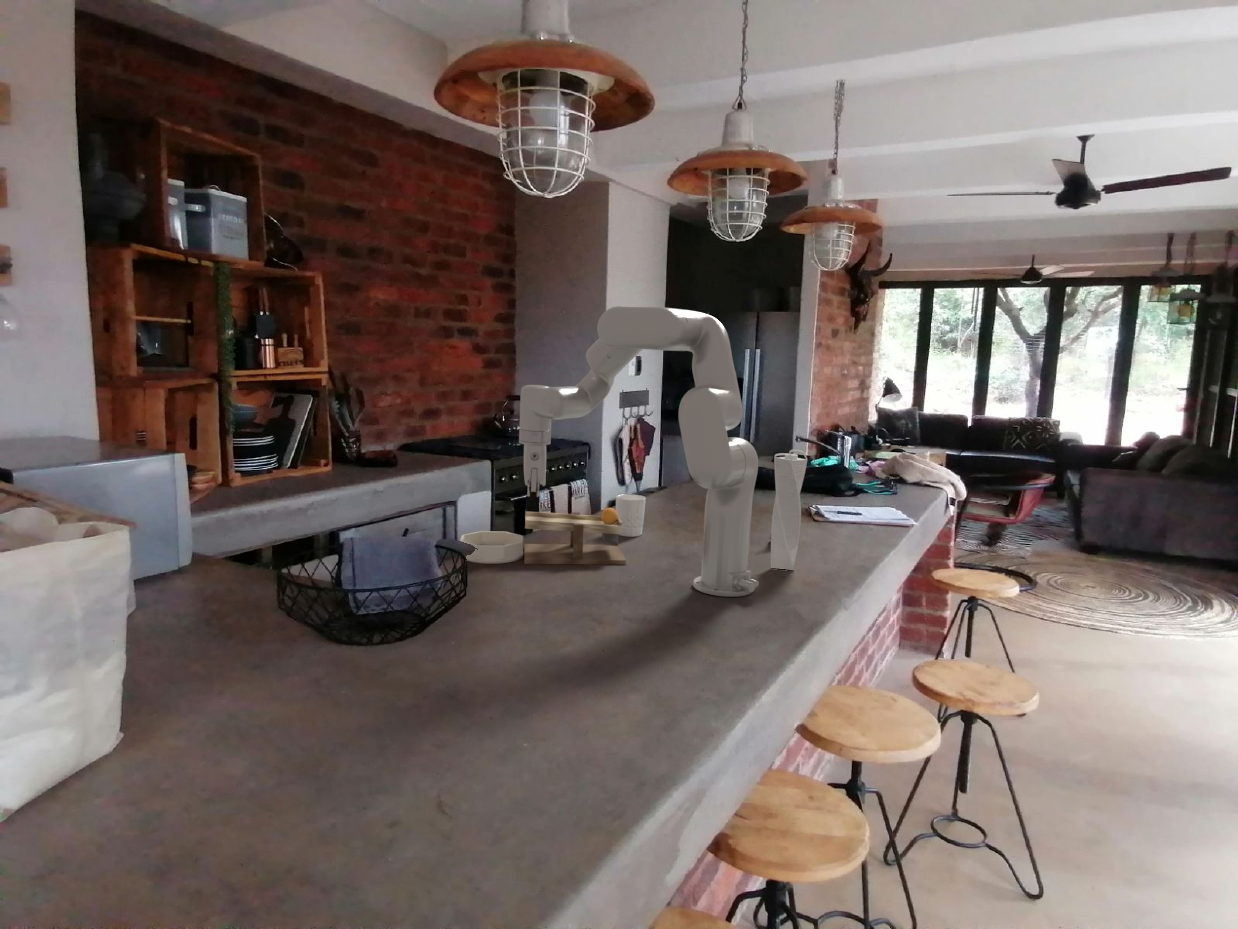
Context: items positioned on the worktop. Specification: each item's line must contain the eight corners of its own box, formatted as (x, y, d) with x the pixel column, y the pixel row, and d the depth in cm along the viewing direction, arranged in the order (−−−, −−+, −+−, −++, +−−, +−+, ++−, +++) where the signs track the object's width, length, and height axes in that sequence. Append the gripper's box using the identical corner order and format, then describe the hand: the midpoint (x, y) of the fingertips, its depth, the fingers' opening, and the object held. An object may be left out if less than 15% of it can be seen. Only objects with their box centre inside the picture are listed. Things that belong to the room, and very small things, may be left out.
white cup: (641, 538, 206) (642, 500, 204) (611, 536, 207) (613, 498, 206) (646, 532, 214) (648, 495, 212) (617, 529, 215) (619, 493, 214)
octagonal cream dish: (523, 547, 192) (523, 531, 191) (523, 563, 178) (523, 546, 177) (462, 547, 190) (462, 530, 189) (457, 563, 176) (457, 545, 175)
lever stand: (618, 548, 194) (620, 512, 193) (625, 564, 181) (627, 525, 179) (524, 547, 192) (525, 511, 190) (524, 563, 178) (525, 524, 176)
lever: (612, 531, 198) (614, 509, 197) (620, 547, 182) (622, 523, 181) (524, 525, 195) (525, 503, 194) (524, 541, 179) (526, 517, 178)
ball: (618, 528, 186) (623, 512, 185) (604, 526, 183) (610, 509, 183) (608, 522, 189) (613, 506, 188) (595, 520, 186) (600, 504, 186)
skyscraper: (799, 573, 179) (809, 450, 175) (766, 570, 181) (774, 448, 176) (798, 564, 187) (807, 446, 183) (766, 561, 188) (775, 444, 184)
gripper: (551, 441, 182) (548, 519, 185) (549, 434, 197) (547, 506, 199) (518, 440, 181) (516, 519, 184) (519, 432, 196) (517, 505, 198)
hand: (532, 512), depth 192 cm, fingers closed
